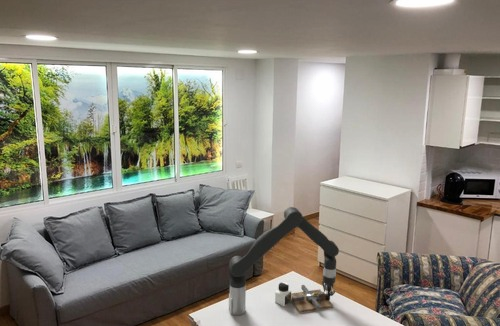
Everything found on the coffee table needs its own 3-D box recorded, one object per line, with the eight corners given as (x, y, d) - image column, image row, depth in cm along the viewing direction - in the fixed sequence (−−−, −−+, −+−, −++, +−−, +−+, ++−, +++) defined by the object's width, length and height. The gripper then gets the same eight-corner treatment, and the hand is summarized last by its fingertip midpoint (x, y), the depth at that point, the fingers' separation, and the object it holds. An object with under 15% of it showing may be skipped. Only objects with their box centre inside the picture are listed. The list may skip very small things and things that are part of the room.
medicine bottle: (284, 306, 229) (285, 288, 227) (274, 302, 233) (275, 284, 231) (291, 301, 235) (291, 283, 232) (281, 297, 239) (281, 279, 236)
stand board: (298, 313, 223) (298, 310, 223) (287, 296, 240) (287, 293, 240) (333, 307, 229) (333, 304, 229) (319, 291, 246) (320, 288, 246)
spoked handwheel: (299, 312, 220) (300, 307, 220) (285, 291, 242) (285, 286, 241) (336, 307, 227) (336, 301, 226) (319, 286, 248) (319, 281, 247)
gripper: (318, 269, 234) (317, 294, 238) (328, 280, 221) (326, 307, 225) (330, 268, 236) (328, 293, 240) (340, 278, 223) (338, 305, 227)
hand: (327, 300), depth 232 cm, fingers closed
